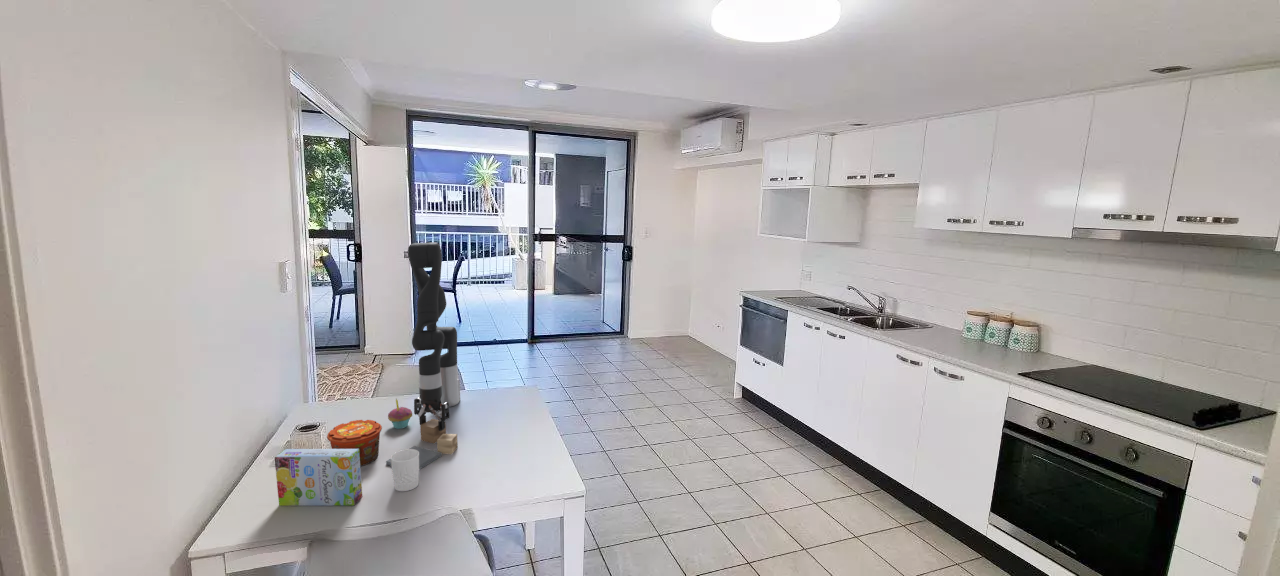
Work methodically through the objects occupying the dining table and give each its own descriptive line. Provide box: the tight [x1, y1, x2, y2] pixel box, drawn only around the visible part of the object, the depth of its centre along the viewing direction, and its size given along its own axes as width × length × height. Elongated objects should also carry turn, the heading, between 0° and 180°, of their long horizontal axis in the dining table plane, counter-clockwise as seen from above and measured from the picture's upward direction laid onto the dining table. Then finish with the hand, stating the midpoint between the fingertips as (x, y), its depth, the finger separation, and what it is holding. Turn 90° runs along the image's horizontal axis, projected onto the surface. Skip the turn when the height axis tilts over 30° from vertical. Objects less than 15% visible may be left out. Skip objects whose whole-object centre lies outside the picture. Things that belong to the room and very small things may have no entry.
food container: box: [326, 419, 383, 467], centre depth 177 cm, size 16×16×11 cm
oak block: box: [436, 433, 458, 455], centre depth 184 cm, size 5×5×5 cm
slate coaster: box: [385, 445, 443, 470], centre depth 177 cm, size 12×12×1 cm
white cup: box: [390, 448, 420, 492], centre depth 161 cm, size 8×8×10 cm
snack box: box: [274, 448, 363, 507], centre depth 152 cm, size 21×6×15 cm, turn 92°
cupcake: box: [387, 397, 413, 430], centre depth 202 cm, size 9×8×12 cm
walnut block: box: [419, 418, 447, 445], centre depth 193 cm, size 6×6×6 cm
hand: (432, 428), depth 192 cm, fingers open, 8 cm apart
